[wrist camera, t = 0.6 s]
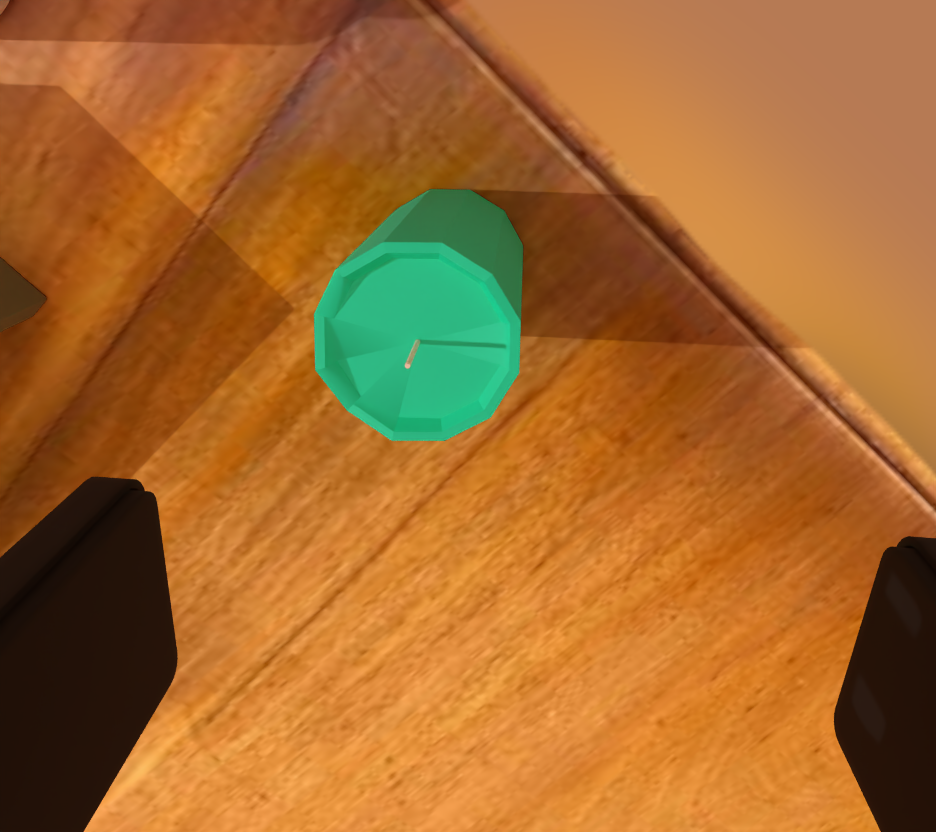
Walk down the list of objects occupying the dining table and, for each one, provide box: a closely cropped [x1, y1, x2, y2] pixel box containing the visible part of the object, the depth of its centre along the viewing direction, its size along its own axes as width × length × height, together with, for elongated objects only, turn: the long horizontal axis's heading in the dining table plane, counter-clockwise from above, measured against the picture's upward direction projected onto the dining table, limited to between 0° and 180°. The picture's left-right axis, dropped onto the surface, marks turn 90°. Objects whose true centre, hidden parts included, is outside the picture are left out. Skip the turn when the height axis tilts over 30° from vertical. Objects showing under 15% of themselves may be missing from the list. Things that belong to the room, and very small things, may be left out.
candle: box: [314, 189, 523, 441], centre depth 25 cm, size 6×6×12 cm
